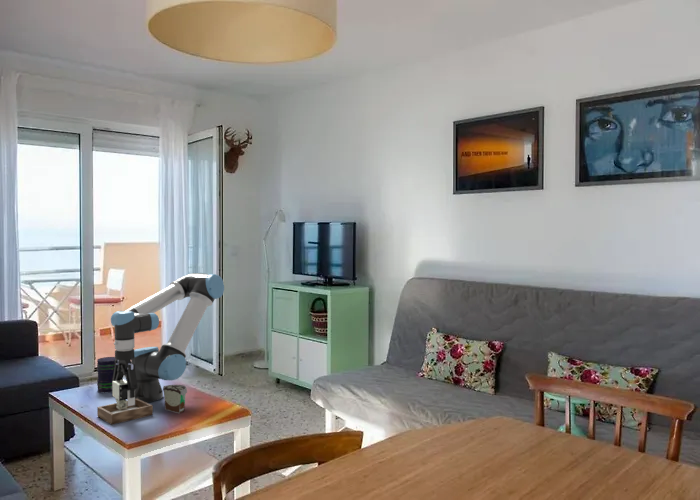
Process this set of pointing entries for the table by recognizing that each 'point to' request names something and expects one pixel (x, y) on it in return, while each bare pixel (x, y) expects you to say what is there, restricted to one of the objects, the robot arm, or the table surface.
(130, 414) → the walnut box
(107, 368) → the storage jar
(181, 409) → the food container
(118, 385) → the pneumatic valve
